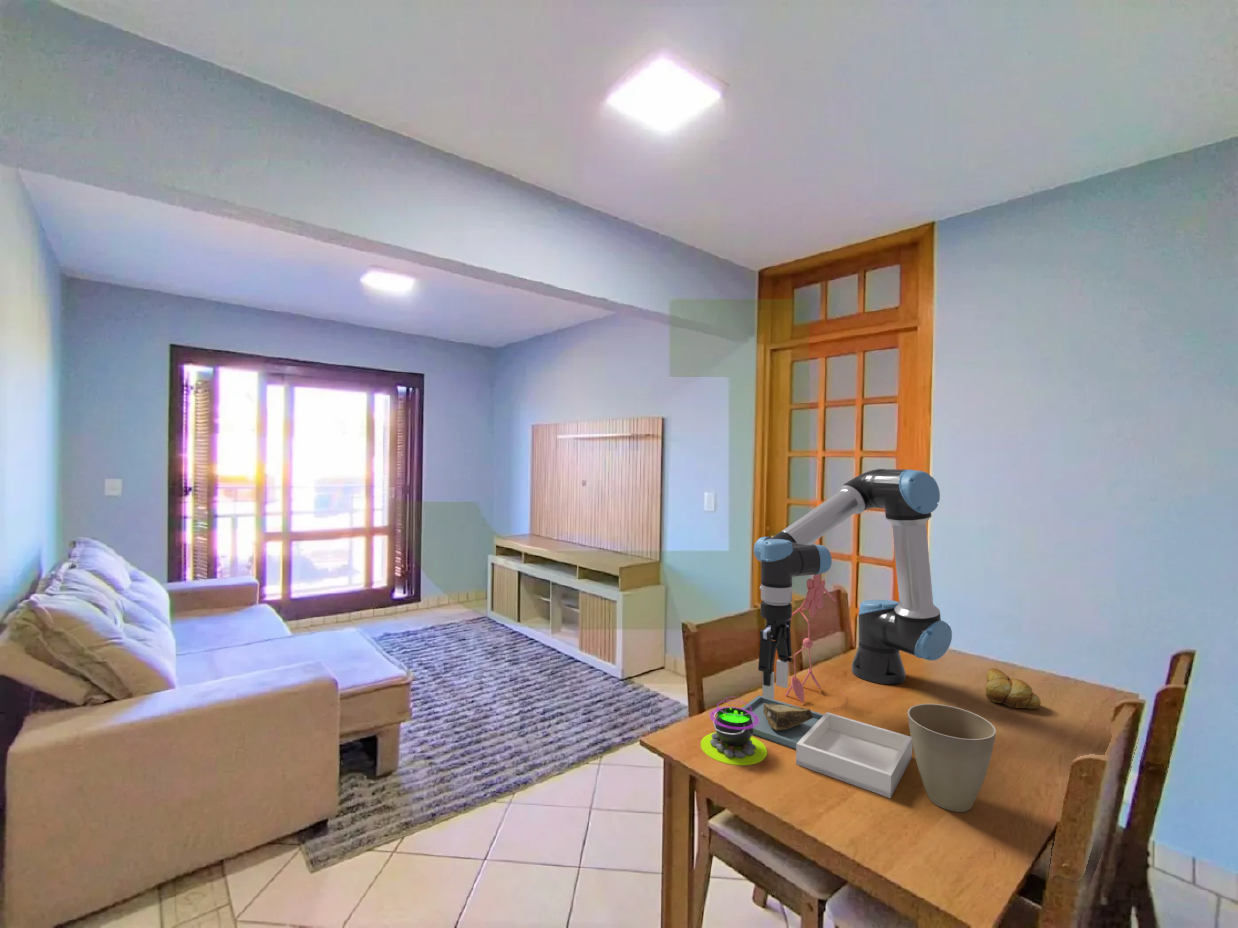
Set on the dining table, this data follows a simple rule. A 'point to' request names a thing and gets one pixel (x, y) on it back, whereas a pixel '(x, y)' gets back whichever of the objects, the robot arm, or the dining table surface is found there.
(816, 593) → the flower sculpture
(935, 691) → the dining table surface
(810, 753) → the dish
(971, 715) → the plant pot
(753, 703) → the tray
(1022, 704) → the bread roll
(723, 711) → the toy cauldron
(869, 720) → the dining table surface
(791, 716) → the rock
